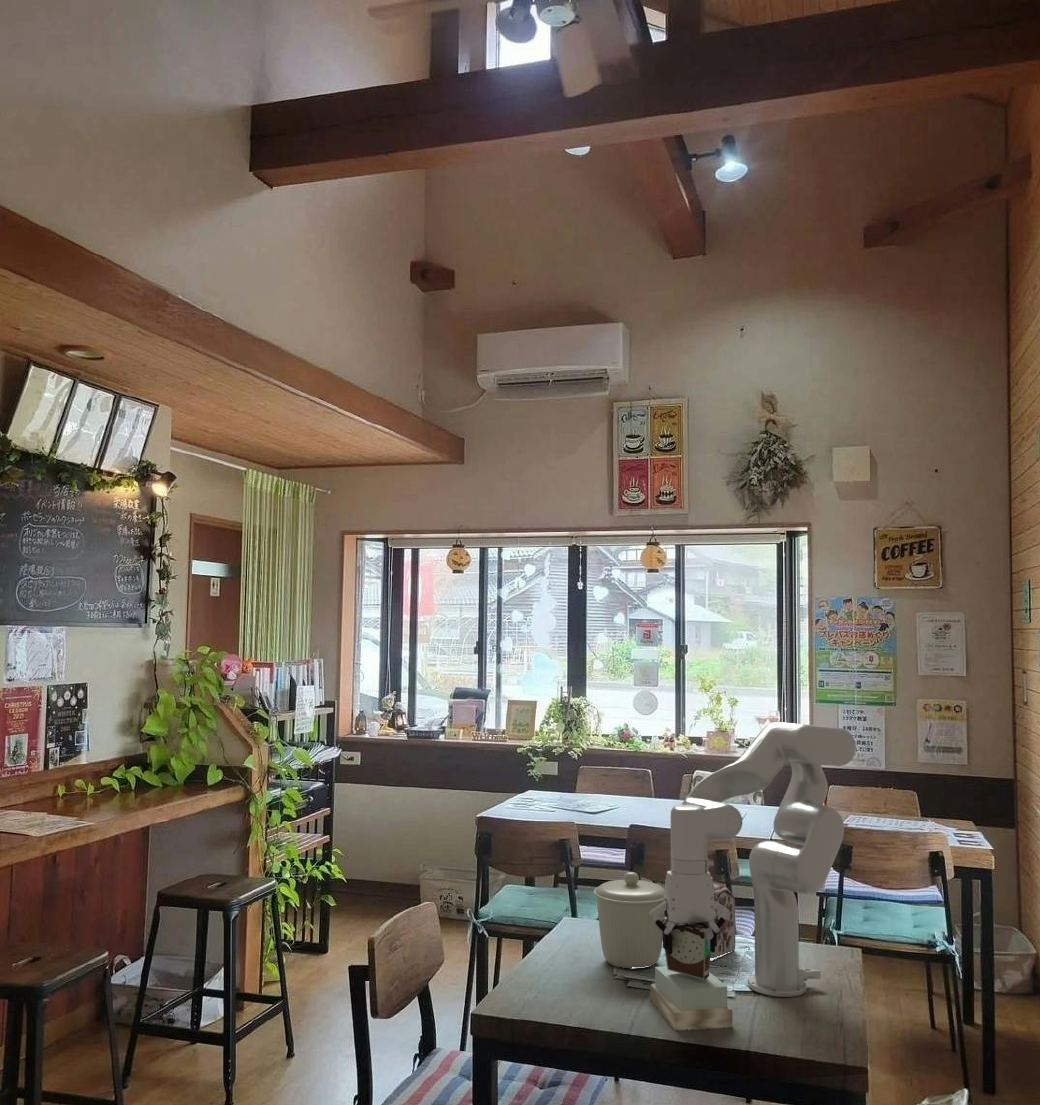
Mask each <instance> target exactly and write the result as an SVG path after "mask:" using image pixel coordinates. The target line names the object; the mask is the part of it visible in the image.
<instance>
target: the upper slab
mask: <svg viewBox="0 0 1040 1105" xmlns="http://www.w3.org/2000/svg"><path fill="white" fill-rule="evenodd" d="M654 974H655V975H654V984H655V987H656V988H657V989H658V990H659V991H661V992H662V993H663V994H664V995H665V996H666V997H667V998H668V999H669V1000H670V1001H671V1002H672V1003H673V1004H674V1005H675V1006H676V1007H677V1008H678V1009H679V1010H680V1011H688V1010H699V1009H711V1008H722V1007H727V1005H728V986H727V984H725V983H723V982H722V981H721V980H720V979H718V978H717V977H716V976H714V974H712V973H711V972H710V971H709V977H708V978H707V979H705V980H703V979H699V978H695V977H692V976H688V975H685V974H681V973H677V972H674V971H670V970H668V969H667V965H664V966H655V967H654Z"/></svg>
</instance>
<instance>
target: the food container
mask: <svg viewBox="0 0 1040 1105" xmlns="http://www.w3.org/2000/svg"><path fill="white" fill-rule="evenodd" d="M665 919H666V918H665ZM665 919H663V920H661V922H662V923H663V922H664V921H665ZM660 930H661V929H660ZM662 933H663V931H662ZM670 933H671V934H672V954H668V953H667V952H666V951H665V950H664V954H665V959H666V960H665V962H666V966H667V969H668V970H670V971H674V972H677V973H681V974H685V975H688V976H692V977H695V978H699V979H703V980H705V979H707V978H708V977H709V972H710V962H711V961H710V940H711V939H712V938H713V932H712V928H711V926H710V924H709V922H708V923H689V924H675V925H674V927H673V928H672V930H671V931H670Z"/></svg>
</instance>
